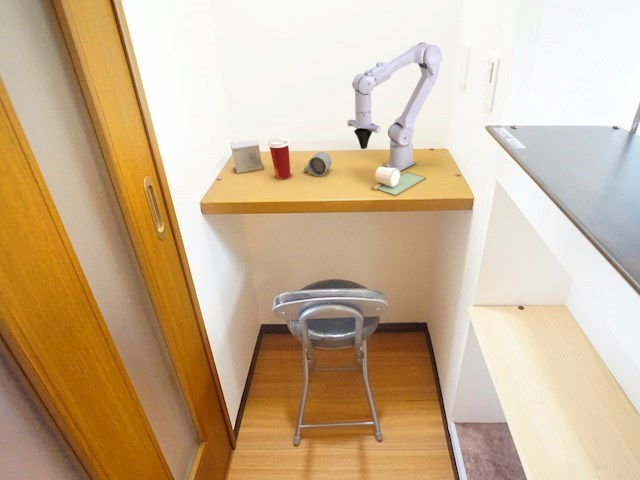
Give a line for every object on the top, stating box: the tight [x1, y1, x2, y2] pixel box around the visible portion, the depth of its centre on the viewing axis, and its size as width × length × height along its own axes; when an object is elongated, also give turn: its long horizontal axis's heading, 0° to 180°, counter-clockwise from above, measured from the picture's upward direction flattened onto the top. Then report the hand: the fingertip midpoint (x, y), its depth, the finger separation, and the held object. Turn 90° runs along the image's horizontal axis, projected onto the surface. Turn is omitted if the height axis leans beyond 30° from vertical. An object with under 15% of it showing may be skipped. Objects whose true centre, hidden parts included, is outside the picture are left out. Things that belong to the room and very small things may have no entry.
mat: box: [376, 172, 425, 196], centre depth 146 cm, size 18×8×1 cm, turn 137°
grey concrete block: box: [230, 139, 264, 174], centre depth 159 cm, size 10×6×10 cm, turn 110°
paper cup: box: [267, 137, 291, 180], centre depth 151 cm, size 8×8×14 cm
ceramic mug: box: [303, 151, 332, 177], centre depth 155 cm, size 11×8×8 cm
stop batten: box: [372, 182, 385, 191], centre depth 146 cm, size 12×1×1 cm, turn 137°
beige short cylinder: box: [374, 166, 402, 187], centre depth 143 cm, size 7×7×7 cm
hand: (363, 148), depth 151 cm, fingers closed
